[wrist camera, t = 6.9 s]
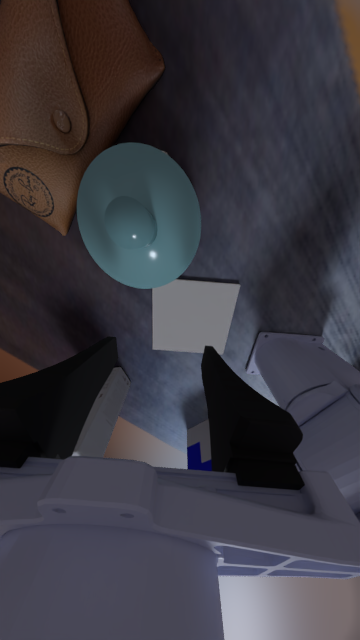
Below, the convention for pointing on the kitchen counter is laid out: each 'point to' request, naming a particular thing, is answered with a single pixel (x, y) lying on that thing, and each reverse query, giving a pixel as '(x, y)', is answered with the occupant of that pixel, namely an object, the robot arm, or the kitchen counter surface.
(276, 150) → the kitchen counter surface
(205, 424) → the puzzle toy
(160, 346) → the plate
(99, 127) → the sunglasses case
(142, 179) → the lid
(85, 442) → the skincare box
